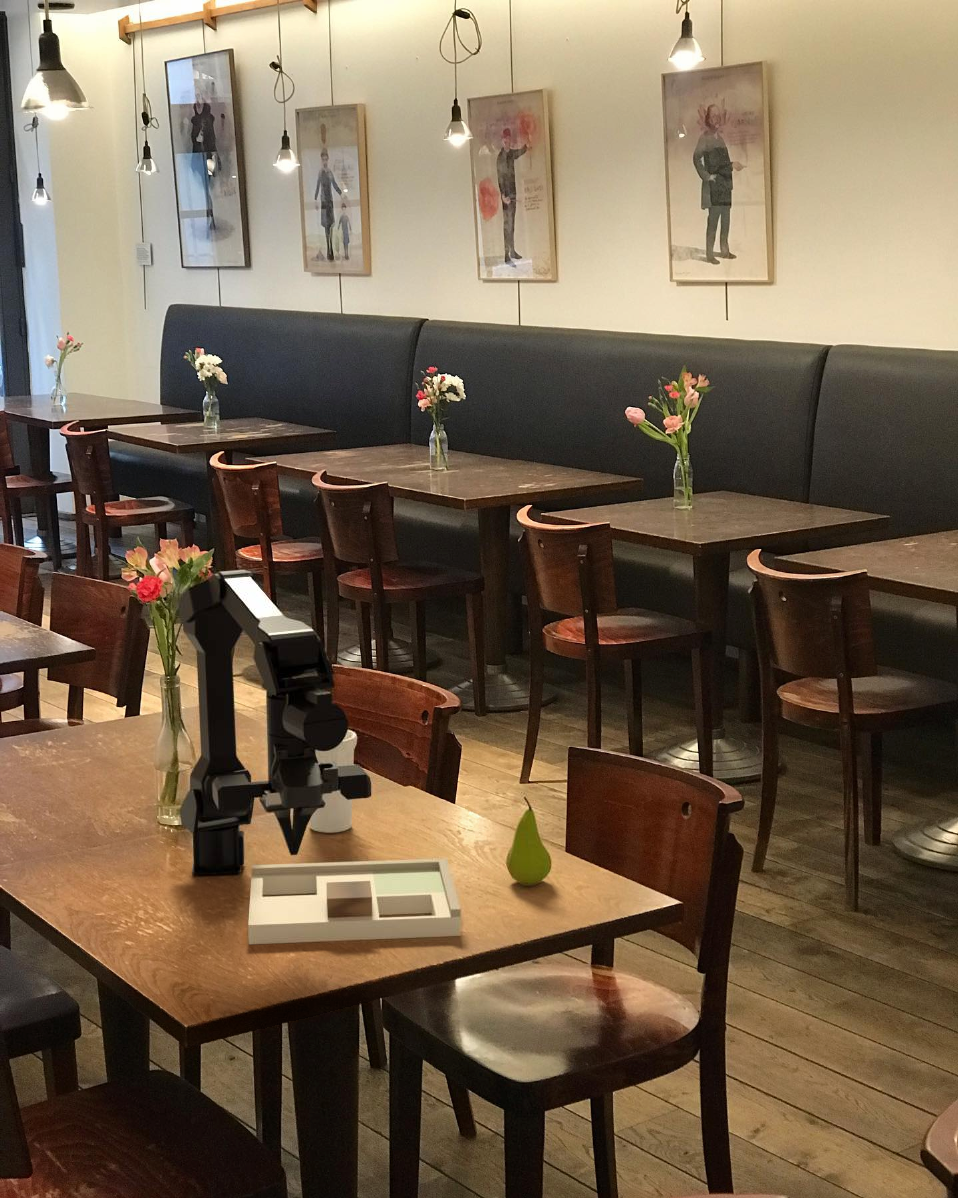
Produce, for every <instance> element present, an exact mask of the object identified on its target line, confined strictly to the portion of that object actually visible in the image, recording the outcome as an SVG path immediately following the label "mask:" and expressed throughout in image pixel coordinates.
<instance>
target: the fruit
mask: <svg viewBox="0 0 958 1198" xmlns="http://www.w3.org/2000/svg"><path fill="white" fill-rule="evenodd" d="M523 799H524V801H525V802H526V804H527V806H528V809H526V810H525V811H524V813H523V814H522V816H521V817H520V818H519V819H520V820H519V821H518V823H517V826H516V829H515V831H514V836H513V841H512V845H511V847H510V849H509V851H508V853H507V856H506V862H505V865H506V869H507V870H508V873H509V875H510V876H511V878H512V879H514V880H515V881H516V882H517V883H518V884H521V886H525V887H530V886H531V887H532V886H535V885H537V884H539V883H540V882H542V881H543V880H544V879H546V878H547V877H548V875H549V874H550V872H551V870H552V858H551V854H550V853H549V851H548V849H547V848H546V847H545V845H544V843H543V842H542V840H541V837H540V834H539V831H538V825H537V820H536V816H535V812H534V810H533V809H532V806H531V804H530V801H529V800H528V798H527V797H526V796H524V797H523Z"/></svg>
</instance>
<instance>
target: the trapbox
mask: <svg viewBox="0 0 958 1198" xmlns="http://www.w3.org/2000/svg"><path fill="white" fill-rule="evenodd" d="M250 870H251V878H250V879H251V881H250V894H249V895H250V897H249V908H248V909H249V910H248V925H247V926H248V928H247V929H248V930H247V931H248V933H247V934H248V945H267V944H268V945H269V944H290V943H292V944H293V943H296V944H297V943H313V942H318V943H320V942H339V941H342V942H343V941H364V940H367V941H368V940H369V941H370V940H389V939H391V940H392V939H414V938H415V939H416V938H442V937H461V934H462V933H461V925H462V924H461V920H462V919H461V917H462V916H461V913H462V911H461V910H462V909H461V905H460V902H459V899H458V895H457V892H456V891H457V890H456V887H455V883H454V881H453V880H454V879H453V876H452V873H451V869H450V865H449V861H448V858H447V857H445V858H444V857H443V858H425V859H424V858H423V859H421V858H420V859H418V858H417V859H395V860H394V859H391V860H390V859H389V860H388V859H387V860H363V861H362V860H361V861H360V860H359V861H334V862H331V861H330V862H305V863H279V864H277V863H276V864H275V863H274V864H251V869H250ZM355 881H370V884H371V892H372V916H365V917H339V918H328V916H327V882H355ZM297 894H298V895H297ZM301 894H302V895H301ZM307 894H308V895H307ZM272 895H273V896H272ZM274 895H275V896H274ZM278 895H279V896H278ZM418 914H431V915H419V916H417V915H418ZM388 915H389V916H391V915H415V916H394V917H393V916H392V917H380V916H388Z"/></svg>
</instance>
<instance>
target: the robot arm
mask: <svg viewBox="0 0 958 1198" xmlns="http://www.w3.org/2000/svg"><path fill="white" fill-rule="evenodd" d="M177 603H178V605H177V608H178V609H177V611H178V615H179V620H180V621H181V623H182V629H183V630H182V631H183V633H184V634H185V636H186V637H187V639H188V640H189V641H190V643H191V645H192V646H193V648H194V649H195V651H196V652H195V653H196V669H197V670H196V671H197V689H198V693H197V695H198V713H199V714H198V717H199V735H200V736H199V737H200V756H199V758H198V760H197V762H196V763H195V765H194V766H193V769H192V771H191V773H190V775H189V790H188V792H187V794H186V795H185V797H184V800H183V801H182V804H181V806H180V808H179V815H180V822H181V826H182V827H184V828H185V829H186V830H187V831H189V832H190V833H191V834H192V853H193V855H192V857H193V865H192V868H191V869H192V871H191V874H192V876H213V875H214V876H216V875H239V874H241V868H242V866H244V865H245V859H246V857H245V831H244V830H240V826H244V825H246V826H247V825H252V824H251V823H252V818H253V813H254V803H255V798H259V803H260V804H261V806H262V807H263V809H264V811H265V813H273V814H274V816H275V818H276V821H277V823H278V825H279V827H280V830H281V834H282V836H283V838H284V841H285V845H286V846H287V847H286V848H287V849H288V852H289V854H290V856H297V855H298V854H299V851H300V848H301V846H302V842H303V839H304V836H305V833H306V829H307V827H308V825H309V824H310V818H311V816H312V815H313V813H314V812H315V811H316V810H317V809H319V808H324V807H325V802H324V800H323V796H322V795H324V794H329V793H332V792H334V791H337V790H340V793H341V795H343V796H344V797H345V798H346V799H347V800H350V799H352V800H358V799H359V800H360V799H369V798H371V797H372V782H371V777H370V776H369V774H367V772H366V770H364V768H362V766H360V764H353V765H348V766H337V764H336V762H327V763H318V760H317V757H316V750H318V751H329V750H332V749H334V748H335V747H337V746H338V745H339V744H340V743H341V742H342V741H343V739H344V738H345V736H346V733H347V731H348V730H349V719H348V718H347V715H346V713H345V711H344V710H343V709H342V708H341V707H340V706H339V705H337V704H335V703H333V694H332V693H331V692H330V691H327V689H334V688H335V686H336V685H335V680H334V678H333V677H334V675H335V671H334V668H333V667H332V664H331V660H330V659H329V656H328V654H327V652H326V651H327V650H326V649H325V647H324V645H323V641H322V640H321V637H319V636H318V634H317V632H315V630H314V629H312V627H311V626H308V625H307V624H306V623H305V622H303V621H302V620H296V619H292V618H288V617H286V616H285V615H284V614H283V613H282V612H281V611H280V610H279V608H278V607H277V606H276V605H275V604H274V603H273V602H272V600H270V598H269V597H268V596H267V595H266V593H265V592H264V591H263V590H262V589H261V587H260V586H259V585H258V584H257V583H256V580H255V576H254V574H253V572H252V571H250V570H246V569H237V570H226V571H217V572H216V573H215V574H212V575H211V576H210V577H209V578H208V579H206V580H203V581H201V582H199V583H197V584H195V585H192V586H190V587H187V588H186V589H185V591H184V593H182V594H181V596H180V597H179V599H178V602H177ZM243 633H245V634H246V635H247V636H248V638H249V639H250V640H251V641H252V643H253V645H254V649H253V661H254V663H255V666H256V668H257V671H258V672H259V674H260V677H261V679H262V681H263V682H262V684H261V688H262V690H265V691H266V695H265V699H266V700H265V702H266V703H265V704H266V736H267V737H266V739H267V741H266V742H267V745H266V746H267V780H264V781H263V780H261V781H252V775H251V773H250V771H249V770H248V769H246V767H245V766H244V764H243V763H242V762H241V760H239V759H240V758H238V756H237V737H236V734H237V733H236V712H235V711H236V710H235V687H234V686H235V685H234V683H235V682H234V667H233V666H234V665H233V664H234V663H233V662H234V661H233V651H234V648H235V647H236V645H237V643H238V642H239V640H240V638H241V636H242V635H243ZM315 674H316V675H315ZM291 811H292V817H291ZM291 818H292V820H291Z"/></svg>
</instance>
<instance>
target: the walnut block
mask: <svg viewBox="0 0 958 1198" xmlns="http://www.w3.org/2000/svg"><path fill="white" fill-rule="evenodd" d="M327 916H328V918H339V917H365V916H372V892H371V884H370V881H355V882H327Z"/></svg>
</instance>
